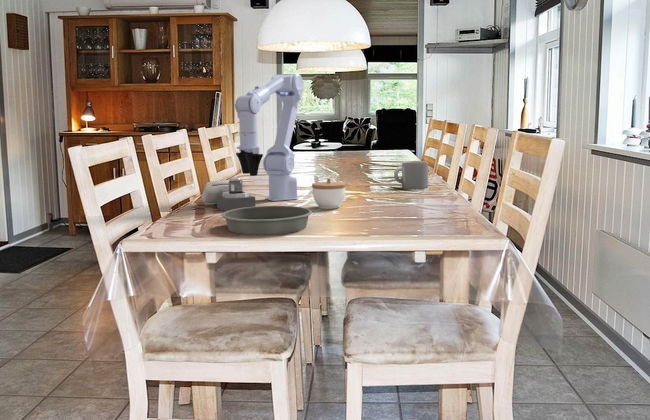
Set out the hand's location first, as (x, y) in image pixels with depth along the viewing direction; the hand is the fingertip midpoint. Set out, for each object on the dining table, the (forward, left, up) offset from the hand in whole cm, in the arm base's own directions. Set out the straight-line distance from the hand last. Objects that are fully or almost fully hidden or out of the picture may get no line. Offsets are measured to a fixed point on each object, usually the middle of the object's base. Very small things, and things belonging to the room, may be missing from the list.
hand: (249, 174), depth 233 cm
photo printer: (+8, -12, -9) cm, 17 cm away
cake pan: (+9, +40, -11) cm, 42 cm away
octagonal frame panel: (+6, +3, -10) cm, 12 cm away
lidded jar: (-21, +16, -11) cm, 28 cm away
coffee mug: (-70, -14, -11) cm, 72 cm away
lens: (+6, +3, -6) cm, 9 cm away
